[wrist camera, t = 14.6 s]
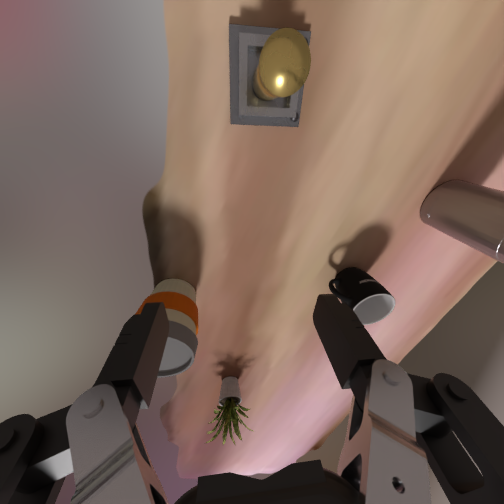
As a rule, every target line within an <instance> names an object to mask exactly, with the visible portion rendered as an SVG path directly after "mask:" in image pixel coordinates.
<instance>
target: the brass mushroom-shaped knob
mask: <svg viewBox="0 0 504 504" xmlns="http://www.w3.org/2000/svg"><path fill="white" fill-rule="evenodd" d="M310 63H311V56H310V49H309V46H308V43H307V41H306V39H305V38H304V36H303V35H302V34H301V33H300V32H299V31H297V30H295V29H293V28H281V29H279V30H277V31H275V32H274V33H273V34H271V35H270V37H269V38H268V39H267V41H266V42H265V44H264V46H263V48H262V51H261V54H260V58H259V64H258V66H257V68H256V70H255V72H254V75H253V81H252V84H253V89H254V92H255V94H256V95H257V96H258V97H259V98H260V99H261V100H264V101H270V100H273V99H275V98H277V97H288V96H290V95H292V94H294V93H296V92H297V91H298V90H299V89H300V88H301V87H302V86H303V84H304V83H305V81H306V79H307V77H308V74H309V70H310Z"/></svg>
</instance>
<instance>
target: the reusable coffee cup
mask: <svg viewBox="0 0 504 504" xmlns="http://www.w3.org/2000/svg"><path fill="white" fill-rule="evenodd" d="M153 302H163V303H164V305H165V309H166V313H167V317H168V320H169V334H168V338H167V342H166V346H165V349H164V353H163V357H162V360H161V364H160V368H159V372H158V375H157V377H169V376H174V375H177V374H180V373H182V372H184V371H186V370H187V369H188V368H189V367H190V366H191V365H192V363H193V362H194V358H195V354H196V349H197V345H198V340H197V337H196V335H197V333H198V308H197V306H196V292H195V289H194V288H193V286H192V285H191V284H189V283H188V282H186V281H184V280H180V279H166V280H163V281H161V282H160V283H159V284H157V286H156V287H155V289H154V290H153V292H152V294H151V295H150V296H149V297H147V298H146V299H145V301H144V302H143V303H142V305H141V306H140V308H139V309H138V311H137V312H136V314H141V312H142V309H143V307H144V305H145V304H146V303H153ZM136 314H135V315H136Z"/></svg>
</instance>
